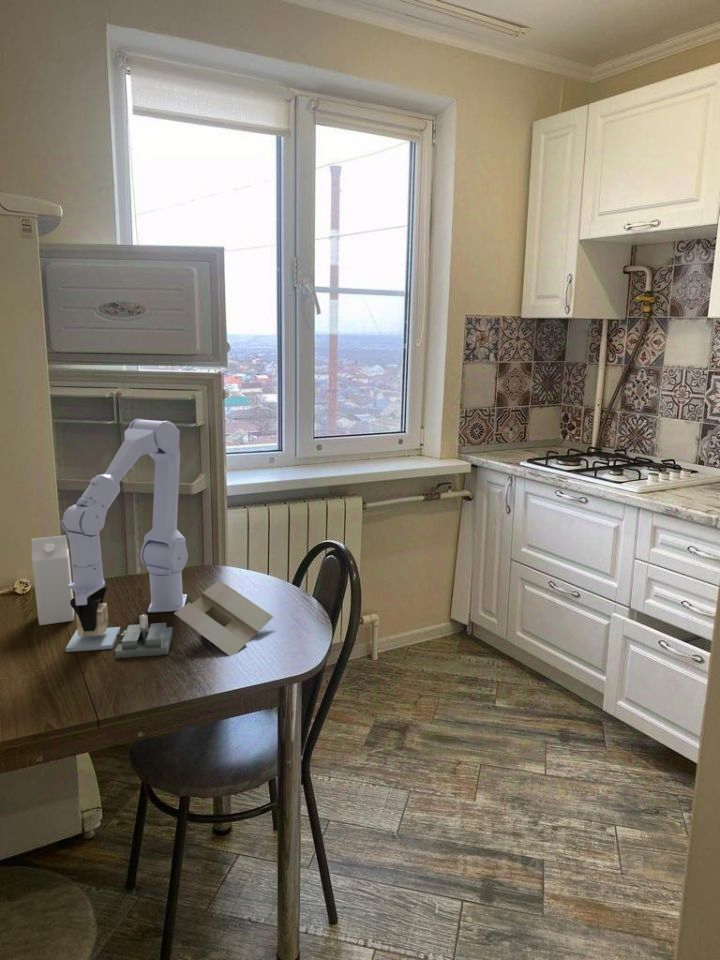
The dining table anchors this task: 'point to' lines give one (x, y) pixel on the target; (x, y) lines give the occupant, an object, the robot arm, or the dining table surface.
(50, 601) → the milk carton
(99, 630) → the wooden cube
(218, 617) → the beige slotted board
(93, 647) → the mat
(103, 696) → the dining table surface
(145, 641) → the vise
